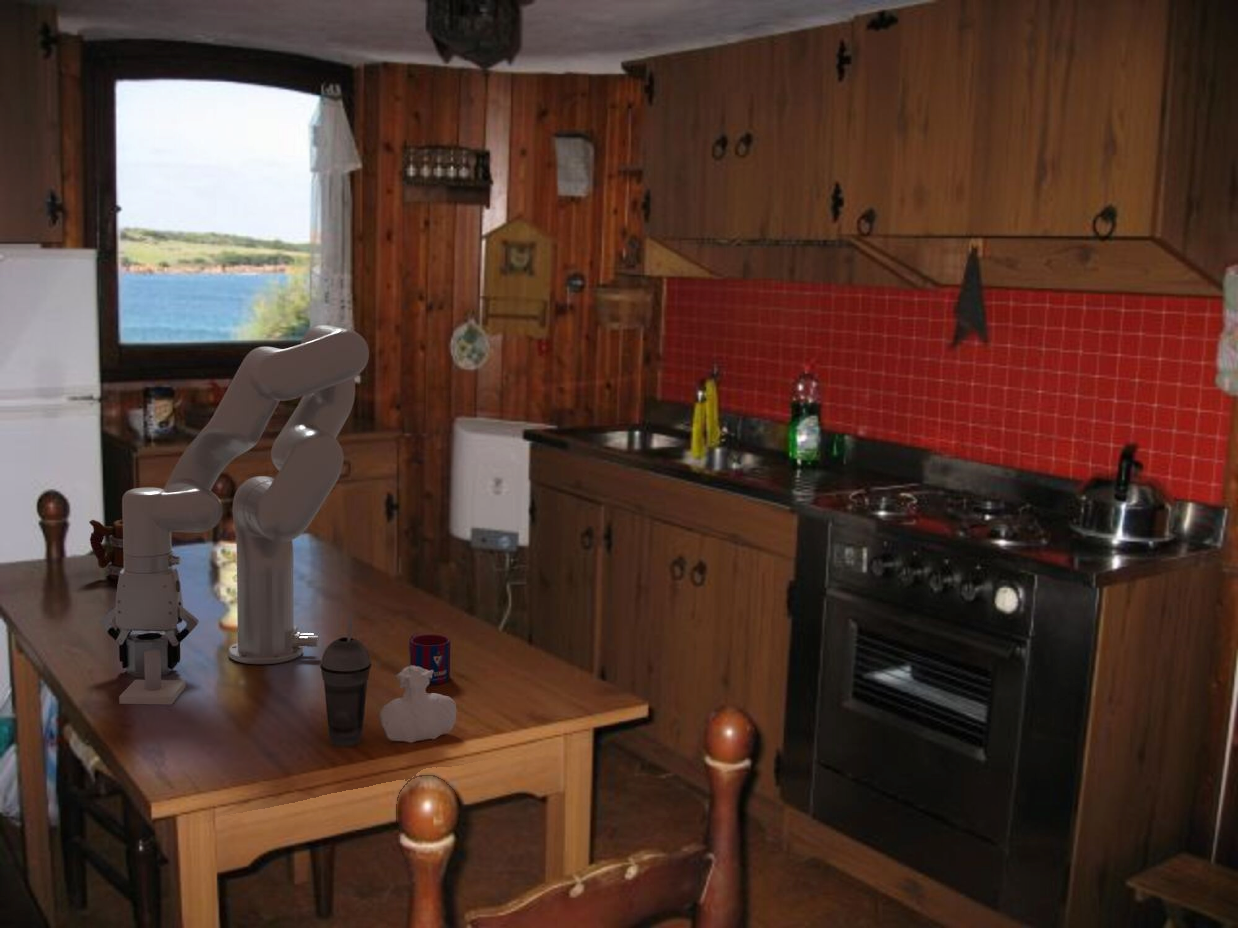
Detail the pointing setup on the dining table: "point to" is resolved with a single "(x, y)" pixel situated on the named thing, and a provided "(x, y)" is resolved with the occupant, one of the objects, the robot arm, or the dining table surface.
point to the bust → (417, 709)
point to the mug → (116, 540)
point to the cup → (431, 655)
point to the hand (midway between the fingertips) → (150, 665)
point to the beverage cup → (345, 688)
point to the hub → (142, 643)
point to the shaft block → (152, 685)
